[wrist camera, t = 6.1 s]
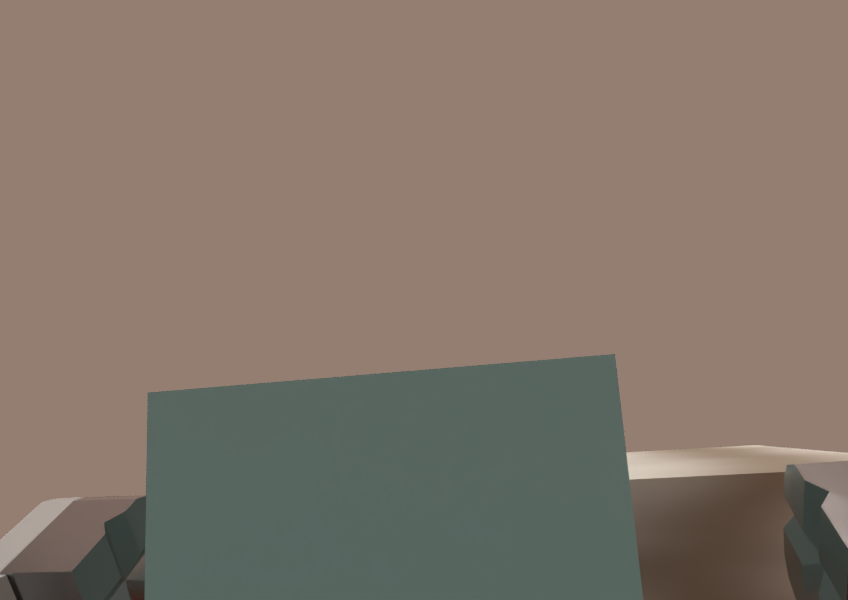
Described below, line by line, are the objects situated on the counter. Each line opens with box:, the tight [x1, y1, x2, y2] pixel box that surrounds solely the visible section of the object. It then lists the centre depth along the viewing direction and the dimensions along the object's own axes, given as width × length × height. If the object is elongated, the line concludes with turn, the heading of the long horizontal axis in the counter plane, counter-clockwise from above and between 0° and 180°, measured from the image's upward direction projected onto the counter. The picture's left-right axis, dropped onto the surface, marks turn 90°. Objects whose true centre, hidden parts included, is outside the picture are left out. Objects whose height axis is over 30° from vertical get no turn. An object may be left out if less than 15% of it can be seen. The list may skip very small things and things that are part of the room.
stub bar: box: [144, 354, 643, 600], centre depth 15 cm, size 4×20×4 cm, turn 168°
